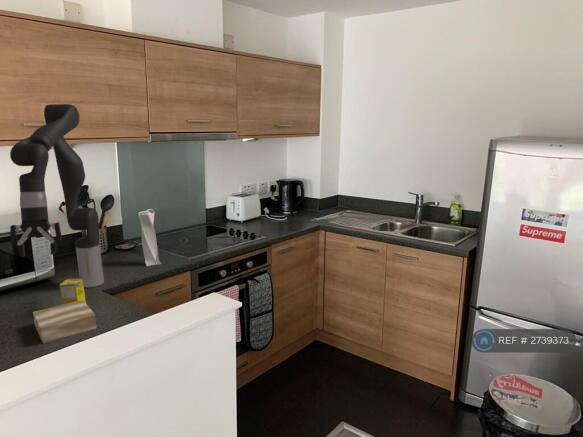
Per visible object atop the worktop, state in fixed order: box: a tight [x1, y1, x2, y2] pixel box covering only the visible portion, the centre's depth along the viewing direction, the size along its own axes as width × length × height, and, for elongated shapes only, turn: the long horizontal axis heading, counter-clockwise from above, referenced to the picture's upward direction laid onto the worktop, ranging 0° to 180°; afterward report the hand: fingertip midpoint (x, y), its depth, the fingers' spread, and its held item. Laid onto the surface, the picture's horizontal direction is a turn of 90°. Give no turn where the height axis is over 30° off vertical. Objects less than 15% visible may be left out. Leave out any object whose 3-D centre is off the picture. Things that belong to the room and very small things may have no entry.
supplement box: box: [59, 278, 87, 305], centre depth 161 cm, size 6×6×11 cm
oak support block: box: [32, 300, 98, 344], centre depth 148 cm, size 16×16×5 cm
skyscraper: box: [138, 208, 162, 267], centre depth 210 cm, size 8×8×28 cm
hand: (38, 255), depth 142 cm, fingers open, 8 cm apart
